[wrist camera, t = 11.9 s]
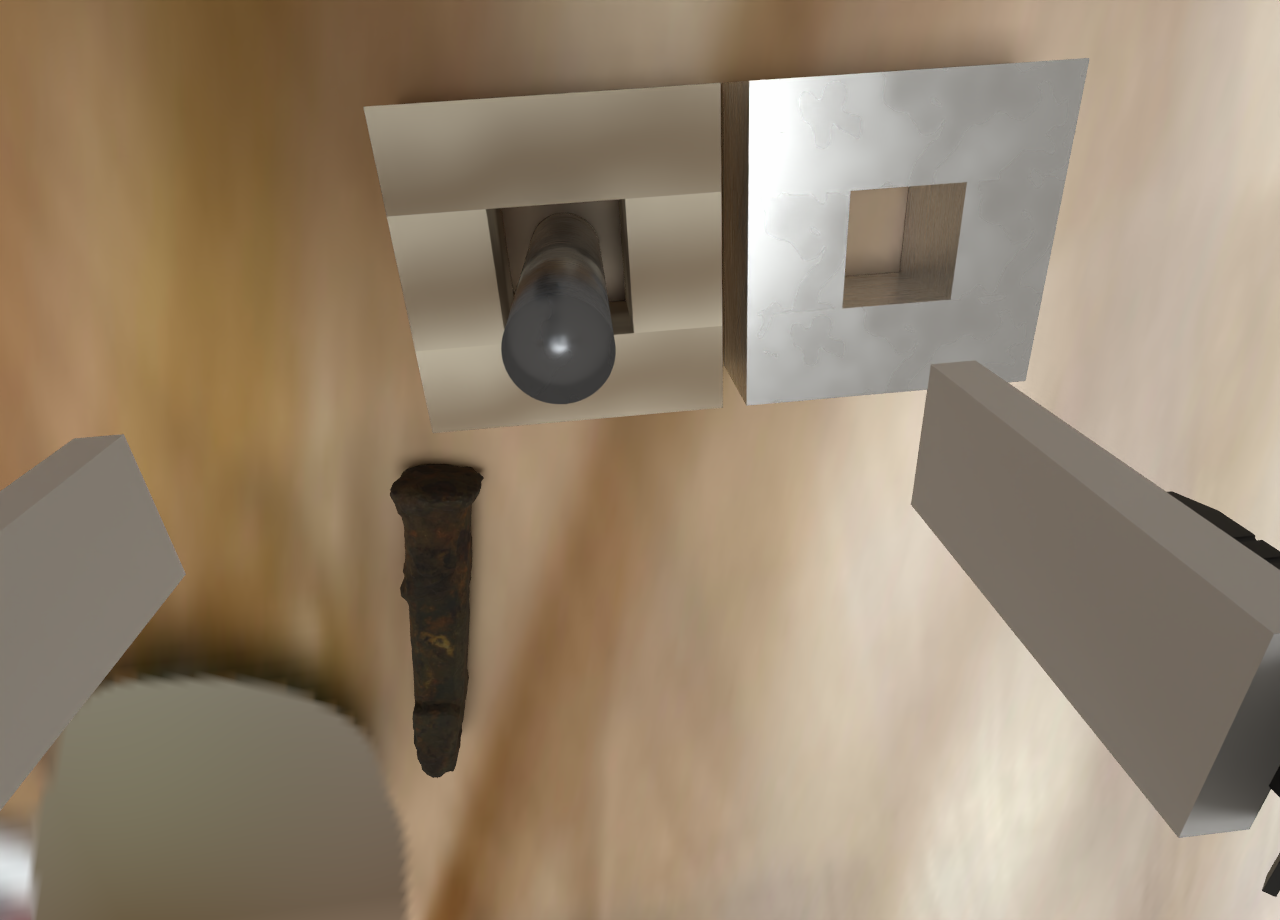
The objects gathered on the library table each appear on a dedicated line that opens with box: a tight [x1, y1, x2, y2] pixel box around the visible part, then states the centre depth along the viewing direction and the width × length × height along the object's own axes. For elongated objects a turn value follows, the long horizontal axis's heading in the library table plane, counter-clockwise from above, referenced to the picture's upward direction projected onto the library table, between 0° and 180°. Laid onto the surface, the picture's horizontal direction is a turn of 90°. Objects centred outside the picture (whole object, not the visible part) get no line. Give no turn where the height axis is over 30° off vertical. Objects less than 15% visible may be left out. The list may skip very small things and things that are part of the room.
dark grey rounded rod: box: [501, 213, 616, 404], centre depth 25 cm, size 3×3×14 cm
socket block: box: [722, 58, 1089, 405], centre depth 30 cm, size 12×12×5 cm
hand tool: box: [390, 464, 484, 778], centre depth 38 cm, size 19×4×5 cm, turn 171°
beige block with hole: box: [364, 83, 723, 433], centre depth 29 cm, size 12×12×5 cm
